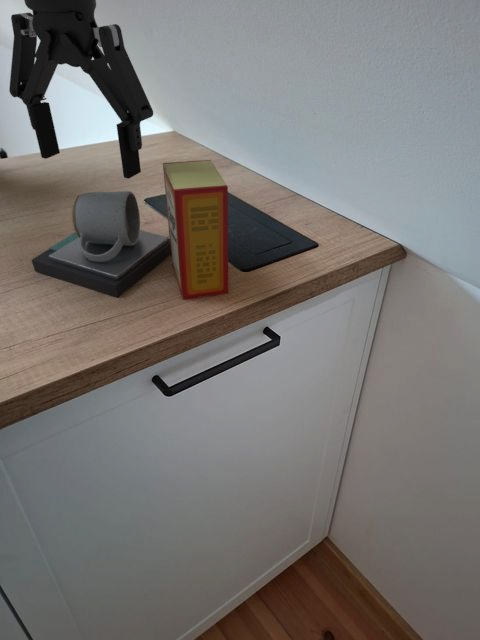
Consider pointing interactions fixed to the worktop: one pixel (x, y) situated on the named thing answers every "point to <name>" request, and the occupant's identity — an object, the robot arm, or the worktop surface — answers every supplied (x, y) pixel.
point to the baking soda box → (197, 227)
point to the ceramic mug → (106, 221)
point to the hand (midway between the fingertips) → (90, 165)
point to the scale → (93, 280)
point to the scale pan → (115, 266)
